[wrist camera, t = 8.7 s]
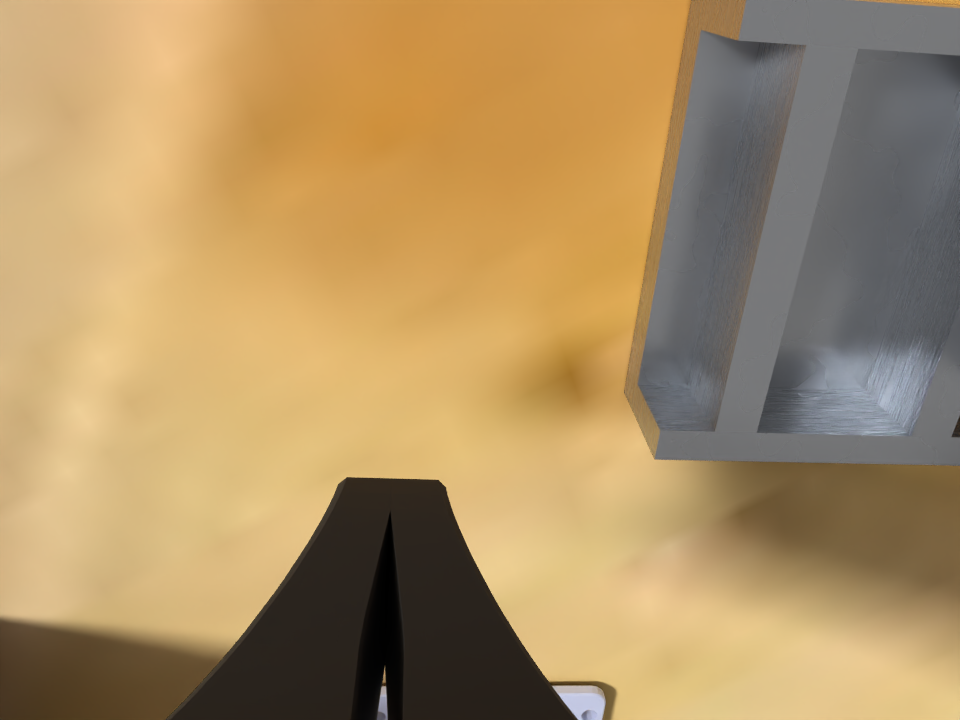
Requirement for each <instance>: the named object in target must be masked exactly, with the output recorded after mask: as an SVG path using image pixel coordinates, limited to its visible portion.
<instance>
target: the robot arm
mask: <svg viewBox="0 0 960 720" xmlns="http://www.w3.org/2000/svg"><path fill="white" fill-rule="evenodd" d="M384 668H385V674H386V686H382V681H383V675H384ZM605 705H606V701H605V696H604V692H603V691H602V689H601V688H599V687H597V686H591V685H588V686H552V685H551V684H550V683H549V681H548V680H547V679H546V677H545V676H544V675H543V673H542V672H541V671H540V669H539V668H538V666H537V665H536V663H535V662H534V661H533V659H532V658H531V656H530V655H529V653H528V652H527V650H526V649H525V647H524V646H523V644H522V643H521V641H520V640H519V638H518V637H517V635H516V633H515V632H514V630H513V629H512V627H511V625H510V624H509V622H508V621H507V619H506V617H505V616H504V614H503V612H502V611H501V609H500V607H499V606H498V604H497V602H496V600H495V599H494V597H493V595H492V593H491V592H490V590H489V588H488V586H487V584H486V582H485V580H484V578H483V576H482V575H481V573H480V571H479V569H478V567H477V565H476V563H475V561H474V559H473V557H472V555H471V553H470V551H469V549H468V547H467V545H466V542H465V540H464V538H463V536H462V533H461V531H460V529H459V526H458V524H457V521H456V519H455V516H454V514H453V511H452V508H451V505H450V502H449V499H448V495H447V491H446V487H445V486H444V485H443V484H442V483H441V482H440V481H439V480H423V479H387V478H351V477H347V478H346V479H344V480H343V481H342V482H341V483H339V484H338V486H337V489H336V492H335V494H334V496H333V498H332V500H331V502H330V505H329V507H328V509H327V510H326V512H325V514H324V516H323V518H322V520H321V522H320V523H319V525H318V527H317V528H316V530H315V532H314V534H313V535H312V537H311V539H310V540H309V542H308V544H307V545H306V547H305V548H304V550H303V551H302V553H301V554H300V556H299V557H298V559H297V560H296V562H295V563H294V565H293V567H292V568H291V570H290V571H289V573H288V574H287V576H286V577H285V579H284V580H283V582H282V583H281V584H280V586H279V587H278V589H277V590H276V591H275V593H274V594H273V595H272V597H271V598H270V599H269V601H268V602H267V603H266V605H265V606H264V607H263V609H262V610H261V611H260V612H259V614H258V615H257V616H256V618H255V619H254V620H253V622H252V623H251V624H250V626H249V627H248V628H247V630H246V631H245V632H244V633H243V635H242V636H241V637H240V638H239V640H238V641H237V642H236V643H235V644H234V646H233V647H232V648H231V649H230V650H229V652H228V653H227V654H226V655H225V656H224V657H223V659H222V660H221V661H220V662H219V663H218V664H217V666H216V667H215V668H214V669H213V670H212V671H211V672H210V673H209V674H208V676H207V677H206V678H205V679H204V680H203V681H202V682H201V683H200V684H199V686H198V687H197V688H196V689H195V690H194V691H193V692H192V693H191V694H190V695H189V696H188V697H187V699H186V700H185V701H184V702H183V703H182V704H181V705H180V706H179V707H178V708H177V709H176V710H175V711H174V712H173V713H172V714H171V715H170V716H169V717H168V718H167V719H166V720H603V715H604V710H605ZM587 710H588V711H587Z"/></svg>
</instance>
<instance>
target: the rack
mask: <svg viewBox="0 0 960 720" xmlns="http://www.w3.org/2000/svg"><path fill="white" fill-rule="evenodd" d="M624 393H625V395H626V398H627V400H628V402H629V404H630V406H631V409H632V411H633V413H634V415H635V417H636V420H637V422H638V424H639V426H640V428H641V431H642V433H643V435H644V437H645V439H646V442H647V444H648V446H649V448H650V450H651V453H652V455H653V457H654V459H661V460H709V461H758V462H807V463H855V464H904V465H953V466H960V5H953V4H940V3H926V2H913V1H899V0H691V4H690V10H689V16H688V22H687V28H686V33H685V39H684V45H683V51H682V57H681V63H680V69H679V74H678V80H677V86H676V92H675V98H674V104H673V109H672V115H671V121H670V127H669V133H668V139H667V145H666V150H665V156H664V162H663V168H662V174H661V180H660V185H659V191H658V197H657V203H656V209H655V215H654V221H653V226H652V232H651V238H650V244H649V250H648V256H647V261H646V267H645V273H644V279H643V285H642V291H641V297H640V302H639V308H638V314H637V320H636V326H635V332H634V337H633V343H632V349H631V355H630V361H629V367H628V373H627V378H626V384H625V390H624Z"/></svg>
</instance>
